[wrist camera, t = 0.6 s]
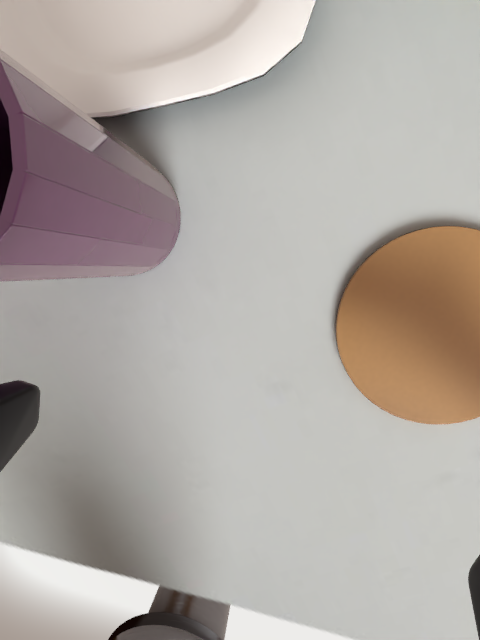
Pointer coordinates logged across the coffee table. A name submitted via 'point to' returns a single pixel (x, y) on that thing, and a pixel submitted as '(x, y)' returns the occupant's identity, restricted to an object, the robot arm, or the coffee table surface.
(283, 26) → the plate
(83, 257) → the tumbler
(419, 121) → the coffee table surface
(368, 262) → the coaster
